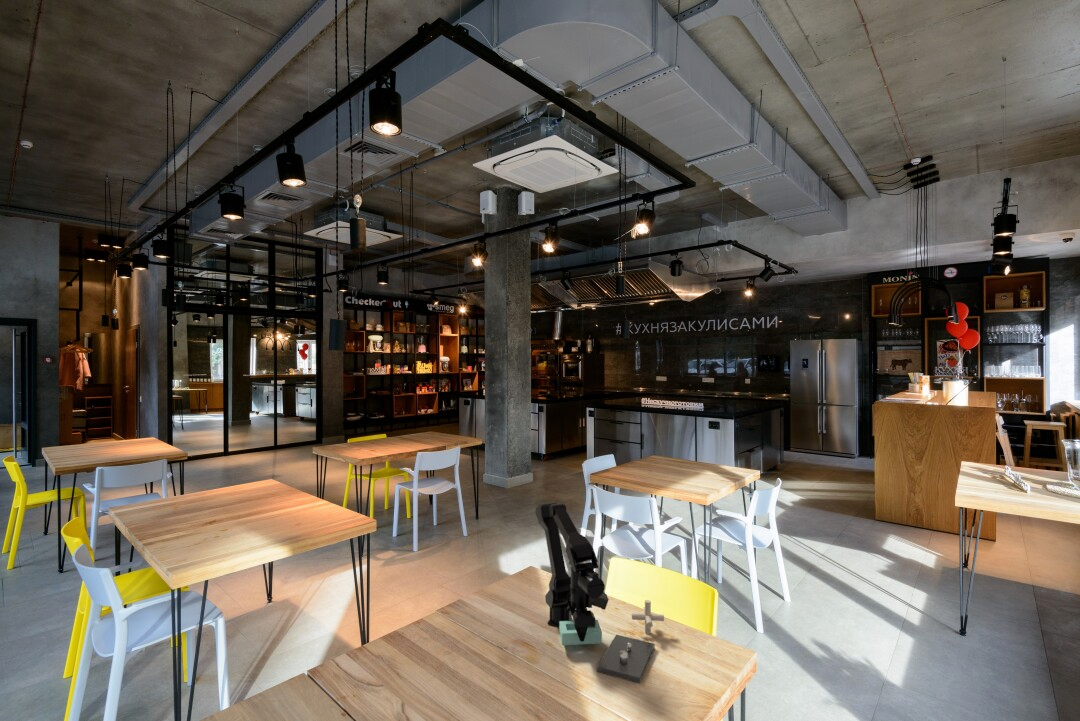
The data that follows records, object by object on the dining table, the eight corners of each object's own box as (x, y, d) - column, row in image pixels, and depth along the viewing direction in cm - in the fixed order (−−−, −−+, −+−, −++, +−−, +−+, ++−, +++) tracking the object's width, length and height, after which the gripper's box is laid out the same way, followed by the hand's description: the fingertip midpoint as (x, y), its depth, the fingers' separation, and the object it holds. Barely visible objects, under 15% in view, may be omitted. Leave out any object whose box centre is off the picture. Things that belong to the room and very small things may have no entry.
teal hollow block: (562, 645, 151) (562, 633, 151) (559, 632, 158) (559, 621, 158) (601, 643, 152) (601, 631, 152) (597, 630, 159) (597, 619, 159)
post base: (597, 671, 143) (597, 657, 142) (616, 639, 159) (616, 626, 159) (639, 683, 137) (639, 668, 137) (654, 648, 154) (654, 635, 154)
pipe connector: (661, 625, 167) (661, 594, 167) (666, 642, 157) (666, 609, 157) (630, 623, 168) (630, 593, 168) (633, 640, 158) (633, 608, 158)
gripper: (612, 597, 146) (612, 650, 147) (600, 569, 165) (600, 617, 165) (574, 598, 146) (574, 652, 146) (566, 571, 164) (566, 619, 164)
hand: (580, 634), depth 155 cm, fingers closed on teal hollow block, 7 cm apart
